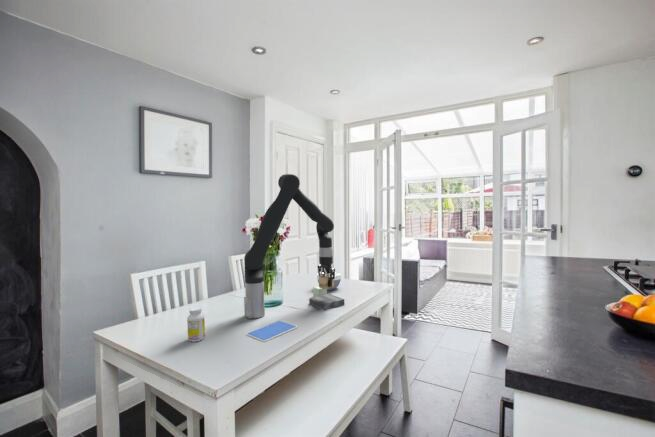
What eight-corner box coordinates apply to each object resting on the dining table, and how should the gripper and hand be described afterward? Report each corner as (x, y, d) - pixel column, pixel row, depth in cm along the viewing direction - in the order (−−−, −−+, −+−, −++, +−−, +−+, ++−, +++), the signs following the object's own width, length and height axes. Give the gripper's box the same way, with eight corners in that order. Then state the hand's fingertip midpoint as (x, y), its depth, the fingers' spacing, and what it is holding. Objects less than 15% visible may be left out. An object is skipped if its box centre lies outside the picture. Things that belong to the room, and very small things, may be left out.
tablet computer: (264, 343, 130) (264, 340, 130) (245, 336, 138) (245, 333, 138) (298, 329, 145) (298, 326, 145) (279, 322, 153) (279, 320, 153)
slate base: (323, 309, 169) (323, 304, 169) (309, 303, 181) (309, 298, 181) (344, 304, 177) (344, 299, 177) (329, 298, 189) (329, 293, 189)
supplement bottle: (200, 334, 140) (199, 305, 139) (208, 338, 135) (207, 308, 135) (185, 339, 134) (183, 309, 134) (193, 343, 130) (191, 312, 130)
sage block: (318, 299, 189) (318, 289, 189) (313, 296, 194) (313, 287, 194) (327, 297, 193) (326, 287, 192) (321, 295, 198) (321, 285, 197)
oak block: (325, 289, 175) (324, 278, 174) (319, 287, 179) (318, 276, 179) (334, 287, 178) (333, 276, 178) (327, 285, 183) (327, 275, 183)
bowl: (314, 286, 218) (314, 272, 218) (336, 284, 223) (336, 270, 223) (321, 292, 203) (320, 277, 203) (344, 290, 208) (344, 275, 208)
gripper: (313, 254, 182) (313, 284, 182) (327, 257, 170) (328, 289, 171) (324, 253, 186) (324, 282, 187) (339, 256, 174) (339, 286, 175)
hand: (326, 285), depth 179 cm, fingers closed on oak block, 6 cm apart
